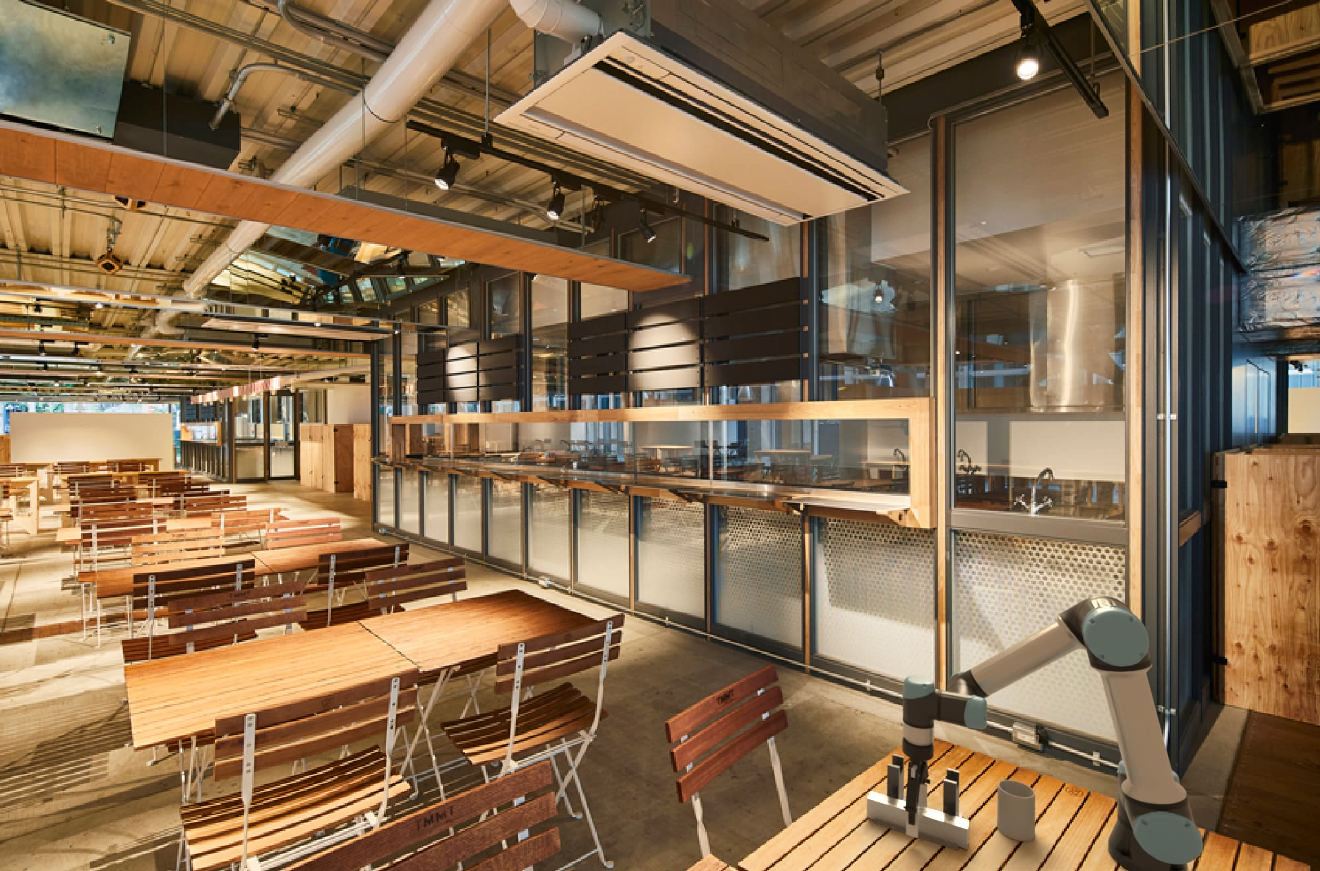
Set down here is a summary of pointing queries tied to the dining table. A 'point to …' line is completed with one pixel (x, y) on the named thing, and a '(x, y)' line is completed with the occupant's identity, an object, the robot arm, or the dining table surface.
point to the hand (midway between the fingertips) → (916, 821)
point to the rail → (919, 820)
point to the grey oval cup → (1016, 810)
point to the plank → (918, 835)
